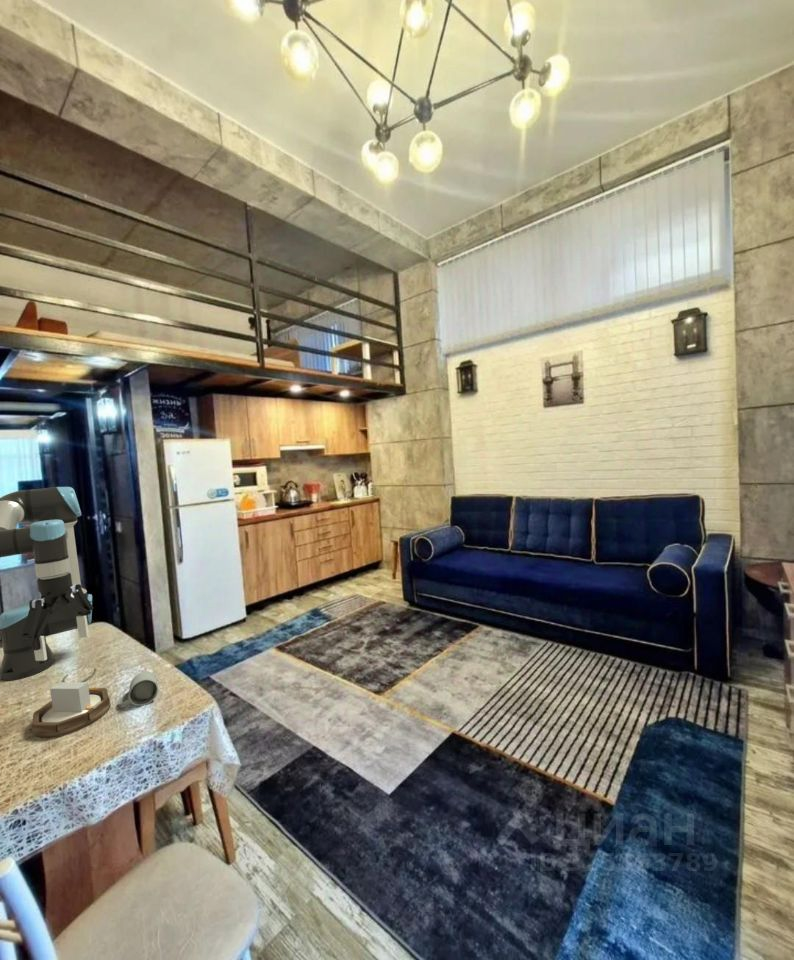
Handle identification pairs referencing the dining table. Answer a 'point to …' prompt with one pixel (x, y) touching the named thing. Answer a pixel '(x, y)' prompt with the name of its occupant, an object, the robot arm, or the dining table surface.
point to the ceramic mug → (140, 690)
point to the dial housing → (73, 723)
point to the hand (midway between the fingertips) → (63, 648)
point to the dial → (69, 701)
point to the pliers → (83, 680)
